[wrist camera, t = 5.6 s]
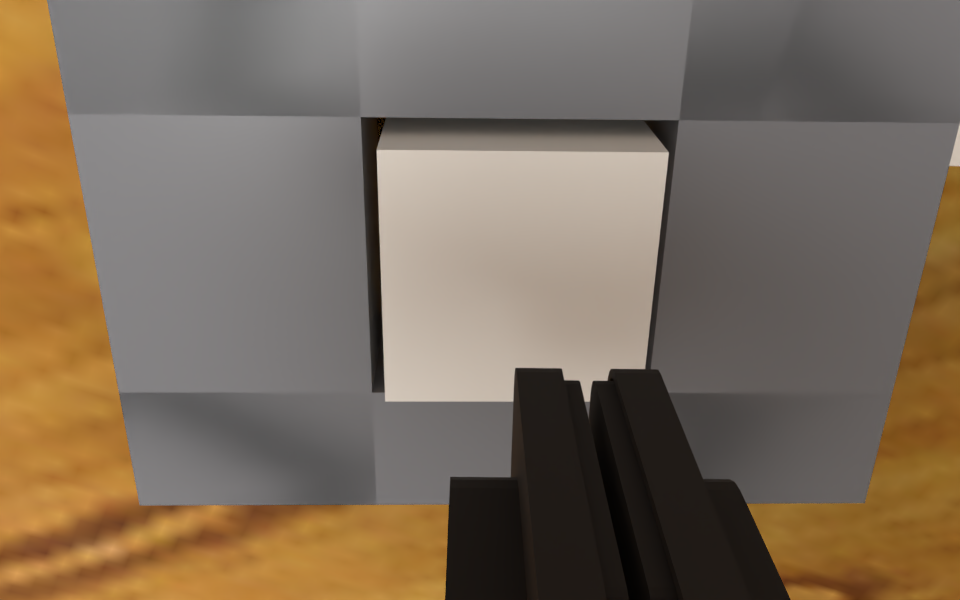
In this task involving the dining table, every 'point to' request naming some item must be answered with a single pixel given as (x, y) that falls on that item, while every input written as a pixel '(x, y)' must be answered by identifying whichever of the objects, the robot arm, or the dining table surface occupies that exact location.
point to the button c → (515, 251)
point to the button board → (503, 95)
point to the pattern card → (956, 151)
